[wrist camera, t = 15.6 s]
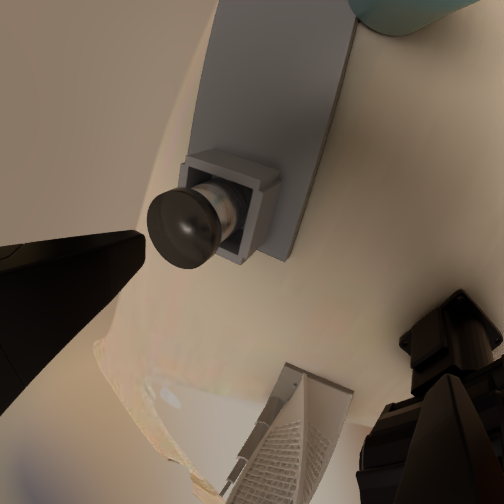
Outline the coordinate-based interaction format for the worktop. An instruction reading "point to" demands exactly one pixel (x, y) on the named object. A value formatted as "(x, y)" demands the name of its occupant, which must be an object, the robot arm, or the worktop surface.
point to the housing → (268, 111)
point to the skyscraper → (290, 441)
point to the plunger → (197, 220)
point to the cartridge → (403, 13)
